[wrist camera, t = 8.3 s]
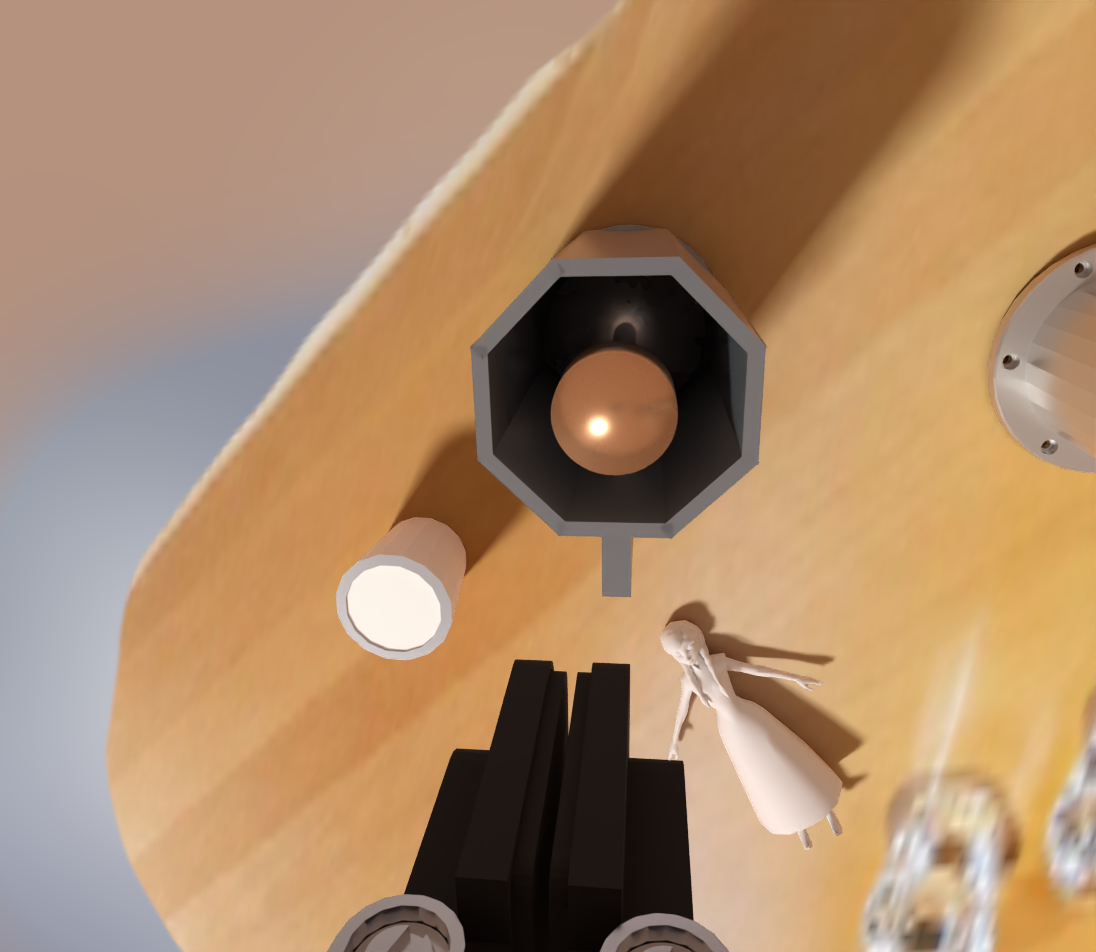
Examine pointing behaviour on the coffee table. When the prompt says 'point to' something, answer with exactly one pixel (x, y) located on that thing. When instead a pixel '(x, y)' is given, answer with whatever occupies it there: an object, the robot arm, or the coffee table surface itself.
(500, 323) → the press pot
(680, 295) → the plunger
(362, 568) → the white cylinder
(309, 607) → the coffee table surface
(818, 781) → the woman figurine
